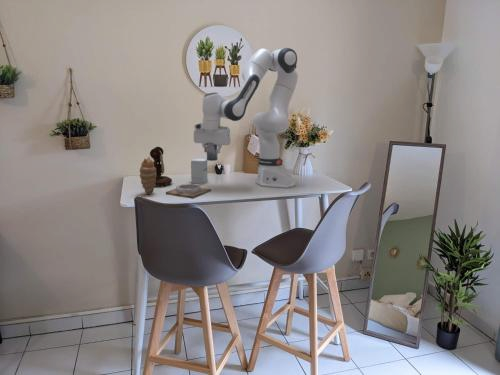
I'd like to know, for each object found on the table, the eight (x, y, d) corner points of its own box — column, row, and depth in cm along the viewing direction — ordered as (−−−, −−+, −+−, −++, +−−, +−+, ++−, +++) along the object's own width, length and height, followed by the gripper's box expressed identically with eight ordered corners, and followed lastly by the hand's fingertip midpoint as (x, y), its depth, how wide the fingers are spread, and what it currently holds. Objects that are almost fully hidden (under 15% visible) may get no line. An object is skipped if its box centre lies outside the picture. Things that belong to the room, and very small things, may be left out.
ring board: (210, 191, 201) (210, 185, 200) (192, 198, 187) (192, 192, 186) (184, 187, 208) (184, 181, 207) (165, 194, 194) (165, 188, 193)
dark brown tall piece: (169, 188, 206) (167, 149, 201) (140, 187, 206) (138, 149, 201) (174, 181, 220) (173, 145, 215) (147, 181, 220) (146, 145, 215)
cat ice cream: (145, 191, 198) (143, 155, 194) (160, 192, 197) (158, 156, 192) (137, 195, 190) (135, 158, 185) (152, 197, 188) (151, 159, 184)
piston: (219, 159, 205) (219, 142, 203) (213, 161, 200) (213, 143, 198) (210, 158, 207) (210, 141, 205) (204, 160, 203) (204, 142, 200)
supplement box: (203, 183, 216) (203, 161, 213) (190, 183, 217) (190, 160, 214) (207, 180, 223) (207, 158, 220) (195, 180, 224) (195, 158, 221)
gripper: (232, 126, 198) (232, 153, 201) (198, 124, 207) (199, 150, 210) (226, 127, 192) (226, 155, 196) (191, 125, 201) (192, 152, 205)
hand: (212, 152), depth 203 cm, fingers closed on piston, 5 cm apart
